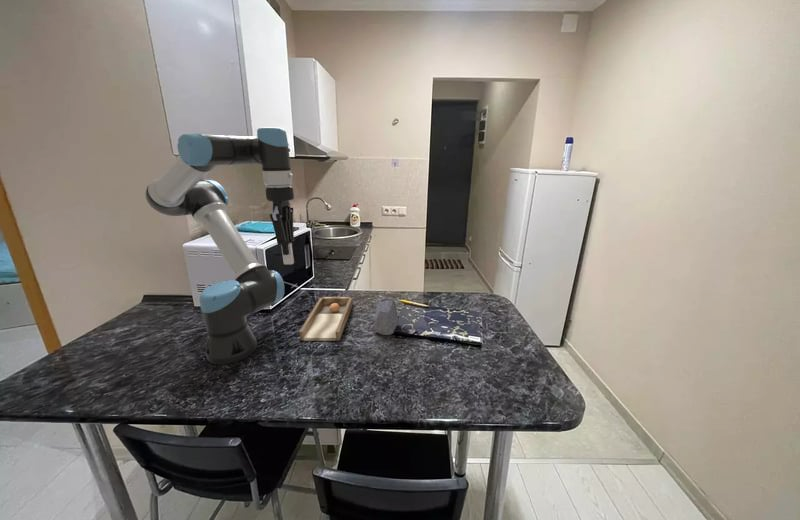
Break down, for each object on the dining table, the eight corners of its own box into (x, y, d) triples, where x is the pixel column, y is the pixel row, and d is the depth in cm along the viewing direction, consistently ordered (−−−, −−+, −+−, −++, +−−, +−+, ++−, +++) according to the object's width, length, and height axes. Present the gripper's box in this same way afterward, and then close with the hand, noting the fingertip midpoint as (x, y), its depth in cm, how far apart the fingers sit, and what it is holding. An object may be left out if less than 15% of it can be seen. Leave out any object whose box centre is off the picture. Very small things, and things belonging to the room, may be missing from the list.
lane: (300, 340, 108) (299, 331, 107) (321, 304, 134) (320, 297, 133) (339, 340, 108) (338, 331, 107) (352, 304, 134) (352, 297, 133)
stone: (379, 324, 121) (403, 319, 119) (375, 342, 113) (400, 337, 110) (368, 301, 116) (392, 295, 114) (363, 318, 107) (389, 312, 105)
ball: (328, 305, 124) (331, 301, 128) (328, 314, 125) (331, 309, 129) (338, 306, 124) (340, 301, 127) (338, 314, 125) (340, 310, 129)
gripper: (283, 188, 81) (294, 270, 89) (299, 184, 94) (306, 256, 101) (255, 188, 81) (268, 271, 89) (274, 184, 93) (284, 257, 101)
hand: (288, 263), depth 95 cm, fingers closed
